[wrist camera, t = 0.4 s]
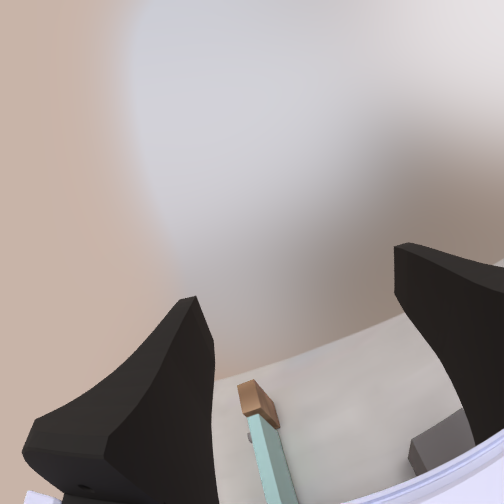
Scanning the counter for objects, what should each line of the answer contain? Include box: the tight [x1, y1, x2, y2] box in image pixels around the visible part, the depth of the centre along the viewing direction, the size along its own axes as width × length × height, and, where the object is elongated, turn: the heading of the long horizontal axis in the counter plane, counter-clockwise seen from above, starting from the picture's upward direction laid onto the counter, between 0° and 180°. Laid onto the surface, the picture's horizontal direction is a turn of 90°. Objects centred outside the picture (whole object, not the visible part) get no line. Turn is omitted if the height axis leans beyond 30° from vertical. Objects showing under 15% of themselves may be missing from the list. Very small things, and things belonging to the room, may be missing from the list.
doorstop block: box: [408, 408, 476, 476], centre depth 15 cm, size 4×4×6 cm
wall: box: [237, 379, 280, 429], centre depth 18 cm, size 20×2×5 cm, turn 11°
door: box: [247, 414, 298, 504], centre depth 20 cm, size 10×2×5 cm, turn 11°
